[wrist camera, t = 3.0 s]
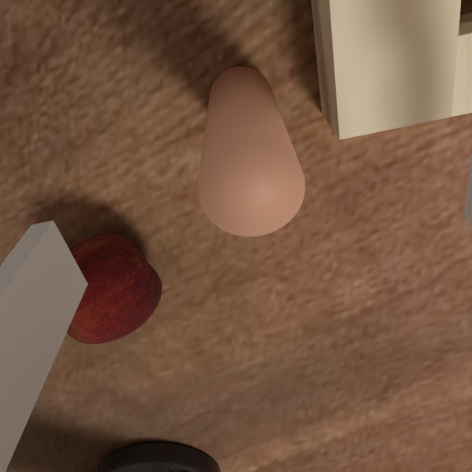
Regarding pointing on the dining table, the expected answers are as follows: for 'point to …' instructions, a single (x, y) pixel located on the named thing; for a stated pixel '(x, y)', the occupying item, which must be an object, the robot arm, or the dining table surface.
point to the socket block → (391, 62)
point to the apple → (113, 289)
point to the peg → (247, 158)
